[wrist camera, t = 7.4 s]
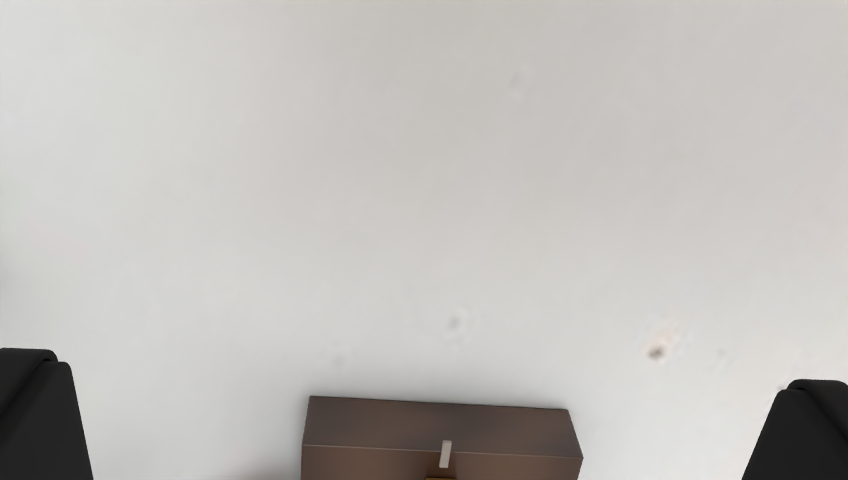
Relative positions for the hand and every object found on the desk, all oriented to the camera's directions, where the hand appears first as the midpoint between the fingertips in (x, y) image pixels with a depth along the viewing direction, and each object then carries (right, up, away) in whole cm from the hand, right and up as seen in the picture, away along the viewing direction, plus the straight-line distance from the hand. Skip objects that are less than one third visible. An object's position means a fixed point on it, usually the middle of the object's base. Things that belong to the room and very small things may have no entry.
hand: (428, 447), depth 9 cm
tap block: (0, -9, +24) cm, 26 cm away
